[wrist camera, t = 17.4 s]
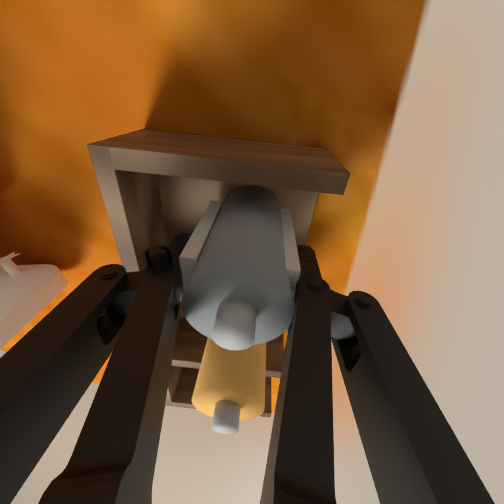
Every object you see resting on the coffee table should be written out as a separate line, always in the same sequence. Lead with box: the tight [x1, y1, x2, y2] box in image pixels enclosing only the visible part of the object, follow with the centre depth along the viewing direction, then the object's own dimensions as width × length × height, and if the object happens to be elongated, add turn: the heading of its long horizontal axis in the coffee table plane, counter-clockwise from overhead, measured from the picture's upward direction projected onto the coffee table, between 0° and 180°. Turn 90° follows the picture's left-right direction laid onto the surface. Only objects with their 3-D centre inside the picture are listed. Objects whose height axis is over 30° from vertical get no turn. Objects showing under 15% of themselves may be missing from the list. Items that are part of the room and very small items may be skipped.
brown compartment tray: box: [87, 129, 350, 417], centre depth 20 cm, size 27×12×6 cm, turn 175°
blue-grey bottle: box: [181, 185, 294, 350], centre depth 13 cm, size 5×5×10 cm
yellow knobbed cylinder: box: [192, 338, 266, 434], centre depth 18 cm, size 5×5×10 cm
